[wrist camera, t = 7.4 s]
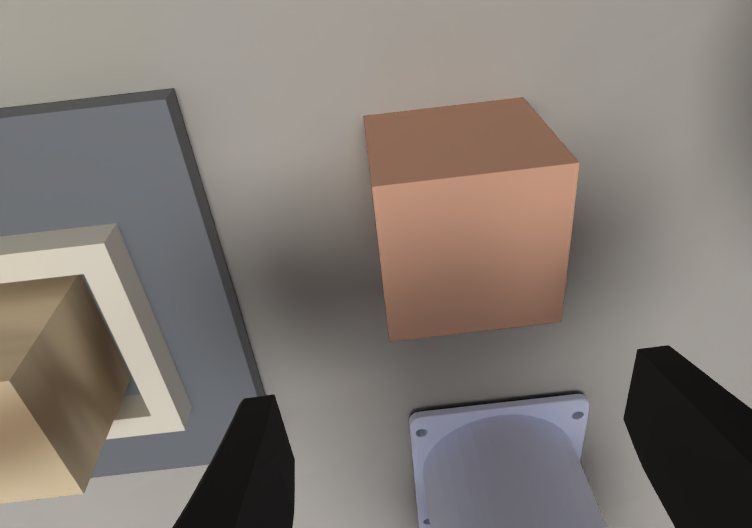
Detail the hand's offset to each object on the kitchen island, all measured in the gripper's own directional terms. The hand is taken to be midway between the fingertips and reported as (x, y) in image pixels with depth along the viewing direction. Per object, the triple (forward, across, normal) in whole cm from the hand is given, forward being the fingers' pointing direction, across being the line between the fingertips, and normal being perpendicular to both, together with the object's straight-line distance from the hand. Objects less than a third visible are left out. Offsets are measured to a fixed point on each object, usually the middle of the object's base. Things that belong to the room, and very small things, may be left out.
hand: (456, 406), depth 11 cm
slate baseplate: (+9, +14, +3) cm, 17 cm away
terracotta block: (+10, -1, 0) cm, 10 cm away
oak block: (+8, +14, +3) cm, 16 cm away
